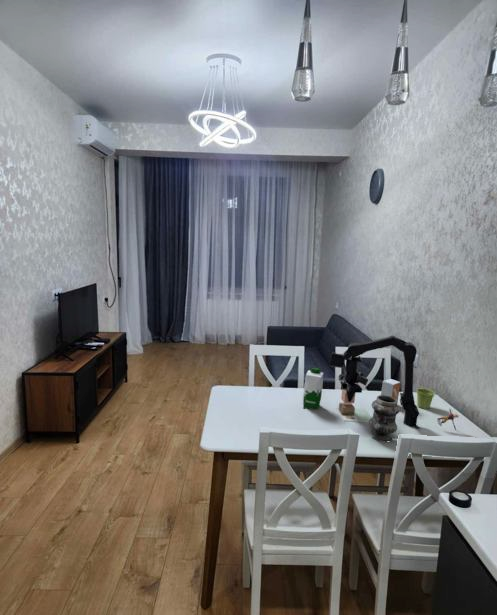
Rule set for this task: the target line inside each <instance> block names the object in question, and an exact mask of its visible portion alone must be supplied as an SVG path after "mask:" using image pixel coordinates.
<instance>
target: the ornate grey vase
mask: <svg viewBox="0 0 497 615" xmlns="http://www.w3.org/2000/svg"><path fill="white" fill-rule="evenodd" d="M371 408H372V409H373V414H372V418H371V419H370V420H369V422H368V425H369V427H370V428H371V430H373V431H372V432H371V433H370V434H371V436H372V437H371V438H372V439H373V440H374V441H377V442H378V441H379V442H381V441H382V442H381V443H388V442H387V441H391V440H392V441H393V439H392V438H393V436H392V435H391V434H394V433H396V432H397V431H398V425H397V423H396V418H397V415H398V414H399V413H400V412H401V408H400V405H399V404H398V403H397V400H396V399H395V398H393V397H390V396H386V395H381V394H380V395H377V396H376V399H375V400H373V401H372V403H371ZM392 441H391V442H392Z"/></svg>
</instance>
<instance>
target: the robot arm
mask: <svg viewBox="0 0 497 615" xmlns="http://www.w3.org/2000/svg"><path fill="white" fill-rule="evenodd" d="M390 346H391V347H394V348H396V349H397V350H398V351H400V352H402V354H403V360H404V373H403V374H404V381H403V384H404V385H403V392H399V396H400V399H399V403H400V406H401V407H402V410H404V416H403V425H405V426H407V427H409V428H415V429H420V427H419V425H418V423H417V421H418V417H419V415H420V412H419V408H418V406H417V404H416V401H415V397H414V364H415V363H414V362H415V361H416V356H417V348H416V346H415V344H414V343H413V342H411V341H407V342H406V341H405V340H403V339H401V338H398V337H396V336H395V335H390V336H387V337H383V338H379V339H374V340H372V341H371V340H370V341H367V342H352V343H350V344H349V345H347V349H346V350H345V351H344V352H343V353H337V352H331V357H330V358H331V359H330V364H329V366H330V367H333V368H339V369H342V368H344V367H345V369H343V372H344V373H343V374H342V373H340V374H339V375H338V381H339V383H340V385H341V388H342V389H346V393H347V398H348V402H351V400H352V398H353V396H354V394H355V395H356V393H363V388H362V386H360V385H359V383H360V384H361V385H363V386H365V387H366V386H367V384H368V382H369V379H368V378H367V377H366V376H365V375H364V373H363V372H362V371H359V372H358V370H359V369H358V368H359V363H363V358H361V356H362V355H364V354H365V353H368V352H371V351H374V350H378V349H382V348H386V347H390ZM342 389H341V390H342Z"/></svg>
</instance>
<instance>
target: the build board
mask: <svg viewBox="0 0 497 615" xmlns="http://www.w3.org/2000/svg"><path fill="white" fill-rule="evenodd" d="M334 408H335V410H336V411H337V413H338V415H339V416H340V418H341V419H342V420H343V422H345V423H346V422H347V423H349V422H351V423H353V422H354V423H369V420H370V419H371V418H372V417H373V415H371V413H370V412H369V411H368V410H367V409H366V408H356V407H355V412H354V416H350V415H342V414H341V413H340V411H339V407H334Z"/></svg>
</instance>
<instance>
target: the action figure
mask: <svg viewBox="0 0 497 615" xmlns="http://www.w3.org/2000/svg"><path fill="white" fill-rule="evenodd" d="M449 413H450V414H449V415H447V416H441V417H437V418H436V421H437V424H438V425H439V426H440V427H442V426H443V424H445V423H447V422H448V421H450V420H451V422H452V424H453V428H454V430H455V431H457V428H456V425H455V422H454V420H455V419H457V418H459V414H457V413H453V412H452V409H451V408H449Z"/></svg>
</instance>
